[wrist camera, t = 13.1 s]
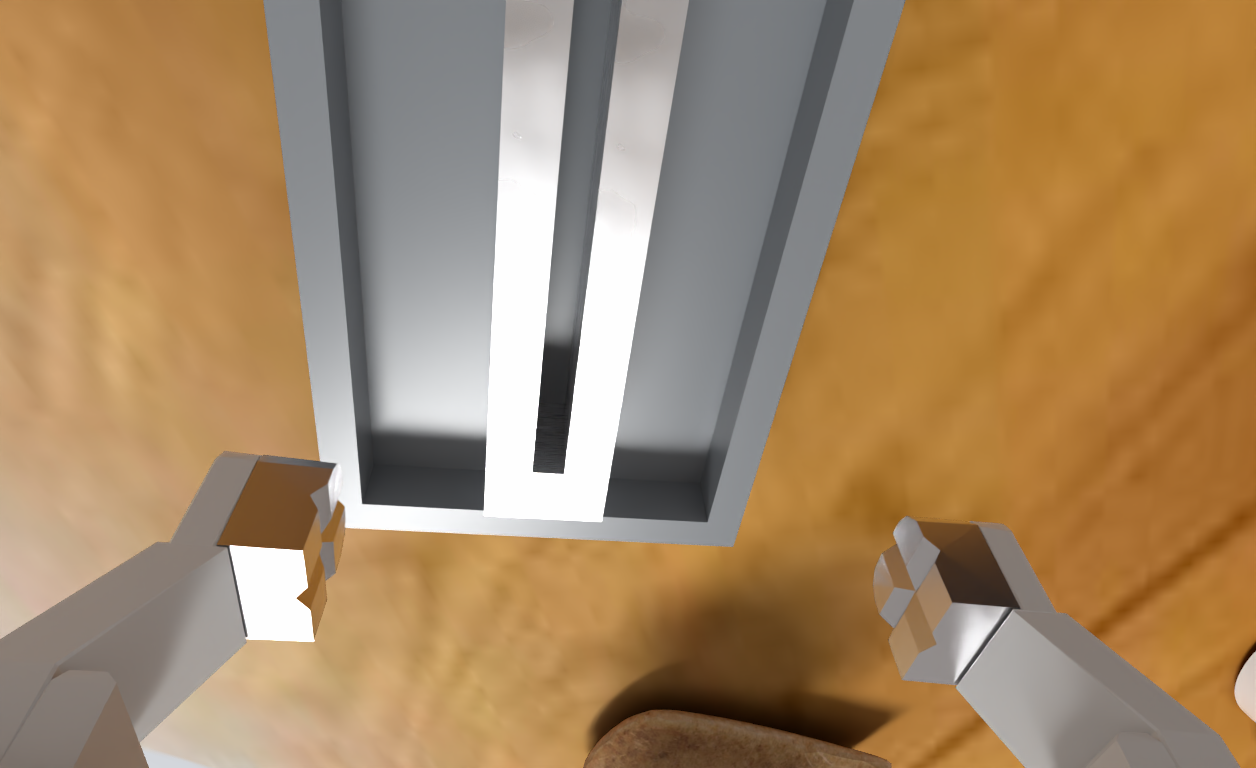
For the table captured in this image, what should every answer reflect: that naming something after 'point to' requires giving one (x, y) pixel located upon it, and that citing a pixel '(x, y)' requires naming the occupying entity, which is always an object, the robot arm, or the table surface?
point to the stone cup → (716, 745)
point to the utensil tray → (559, 246)
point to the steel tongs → (611, 257)
